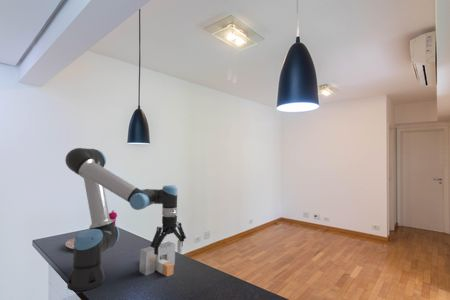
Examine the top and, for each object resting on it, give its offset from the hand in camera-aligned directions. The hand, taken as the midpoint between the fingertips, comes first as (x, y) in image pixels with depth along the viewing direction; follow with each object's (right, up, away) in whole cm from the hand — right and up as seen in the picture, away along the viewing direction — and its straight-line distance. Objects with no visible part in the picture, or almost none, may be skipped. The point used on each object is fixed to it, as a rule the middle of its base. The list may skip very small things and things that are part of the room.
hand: (168, 256), depth 127 cm
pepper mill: (-55, -10, +56) cm, 79 cm away
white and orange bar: (-8, -9, +6) cm, 13 cm away
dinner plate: (-62, -9, +37) cm, 73 cm away
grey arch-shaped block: (-7, -9, +6) cm, 13 cm away
